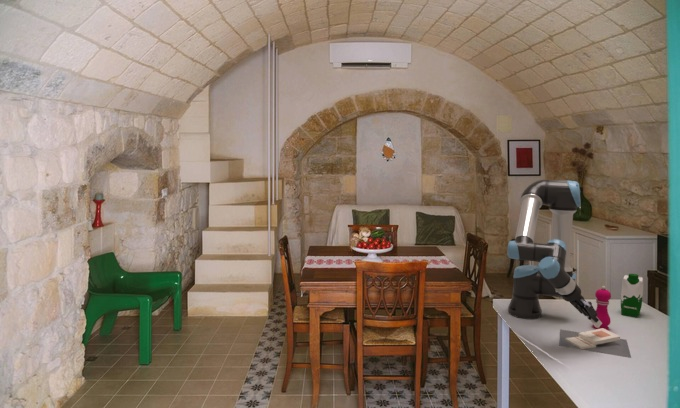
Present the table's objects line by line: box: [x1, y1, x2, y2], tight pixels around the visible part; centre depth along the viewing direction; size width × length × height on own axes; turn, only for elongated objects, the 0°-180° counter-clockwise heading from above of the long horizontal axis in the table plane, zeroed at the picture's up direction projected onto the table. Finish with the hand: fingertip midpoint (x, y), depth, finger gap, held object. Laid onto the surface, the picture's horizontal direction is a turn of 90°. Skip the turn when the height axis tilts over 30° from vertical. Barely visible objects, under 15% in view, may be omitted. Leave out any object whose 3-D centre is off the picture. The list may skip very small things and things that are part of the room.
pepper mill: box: [592, 285, 612, 331], centre depth 211 cm, size 7×7×20 cm
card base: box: [565, 337, 596, 350], centre depth 196 cm, size 7×9×1 cm
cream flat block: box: [579, 328, 621, 345], centre depth 198 cm, size 2×9×12 cm
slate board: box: [558, 328, 632, 359], centre depth 197 cm, size 19×25×1 cm
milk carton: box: [620, 273, 645, 319], centre depth 231 cm, size 9×9×20 cm
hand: (598, 325), depth 197 cm, fingers closed
